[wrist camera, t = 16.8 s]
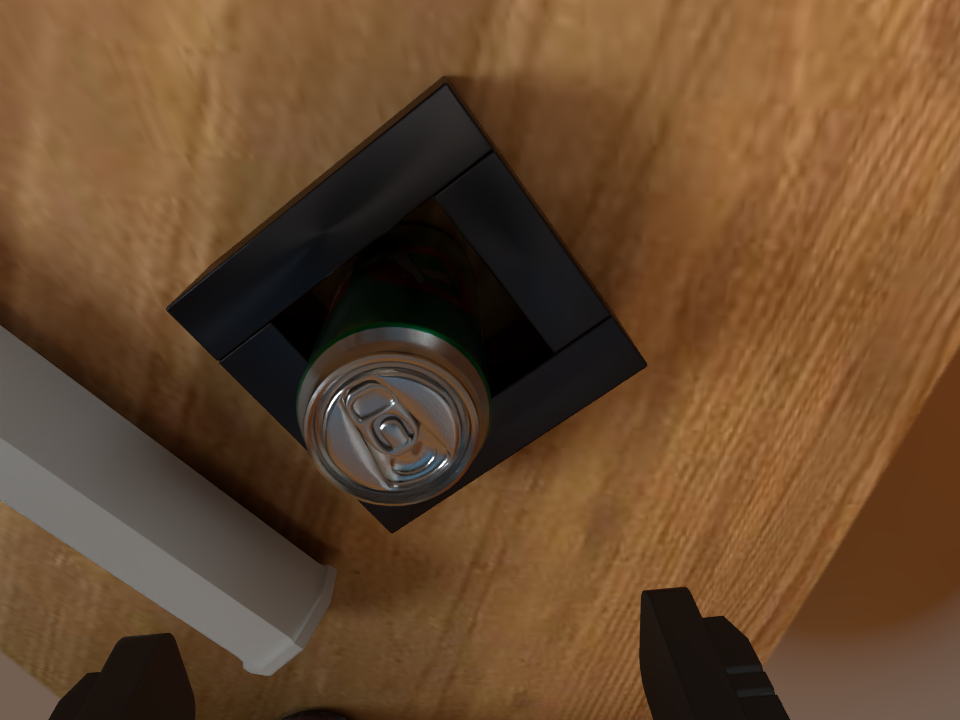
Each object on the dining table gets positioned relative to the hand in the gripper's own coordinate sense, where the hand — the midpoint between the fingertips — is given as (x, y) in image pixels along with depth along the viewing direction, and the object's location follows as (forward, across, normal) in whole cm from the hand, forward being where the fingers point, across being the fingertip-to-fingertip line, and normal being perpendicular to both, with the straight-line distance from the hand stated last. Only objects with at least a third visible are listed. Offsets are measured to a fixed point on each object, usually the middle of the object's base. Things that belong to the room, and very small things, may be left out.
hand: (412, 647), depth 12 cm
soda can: (+18, +1, -1) cm, 18 cm away
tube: (+18, +15, +4) cm, 24 cm away
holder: (+18, 0, 0) cm, 18 cm away
